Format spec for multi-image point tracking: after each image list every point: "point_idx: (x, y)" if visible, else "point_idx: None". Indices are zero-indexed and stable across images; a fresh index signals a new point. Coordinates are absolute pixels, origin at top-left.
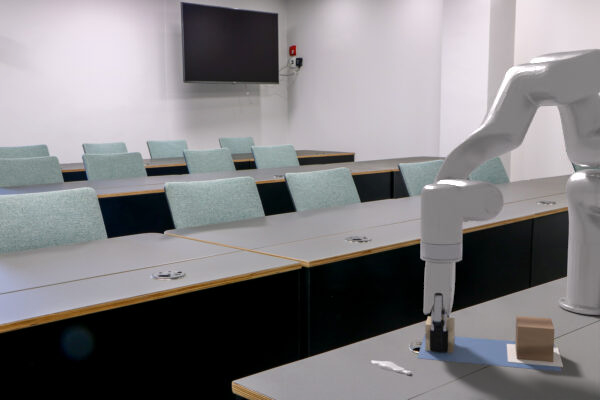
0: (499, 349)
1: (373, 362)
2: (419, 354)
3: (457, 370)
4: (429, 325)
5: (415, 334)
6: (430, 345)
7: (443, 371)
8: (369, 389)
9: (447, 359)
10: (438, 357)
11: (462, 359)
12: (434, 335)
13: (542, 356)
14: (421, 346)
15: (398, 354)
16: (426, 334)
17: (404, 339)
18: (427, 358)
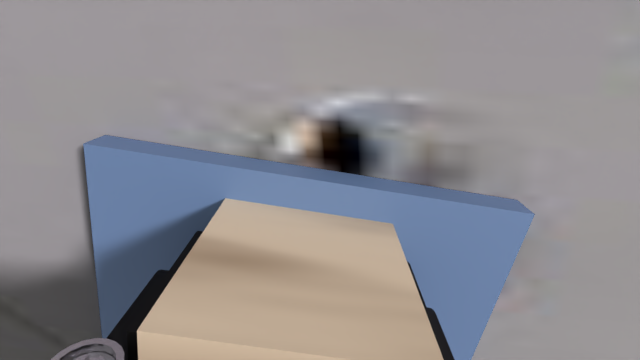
0: None
1: None
2: (150, 159)
3: (81, 309)
4: (143, 358)
5: (611, 148)
6: (187, 248)
7: (45, 254)
8: None
9: (117, 297)
10: (132, 259)
11: None
12: (113, 330)
13: None
14: (294, 180)
15: (229, 15)
16: (185, 267)
17: (524, 68)
18: (95, 202)
